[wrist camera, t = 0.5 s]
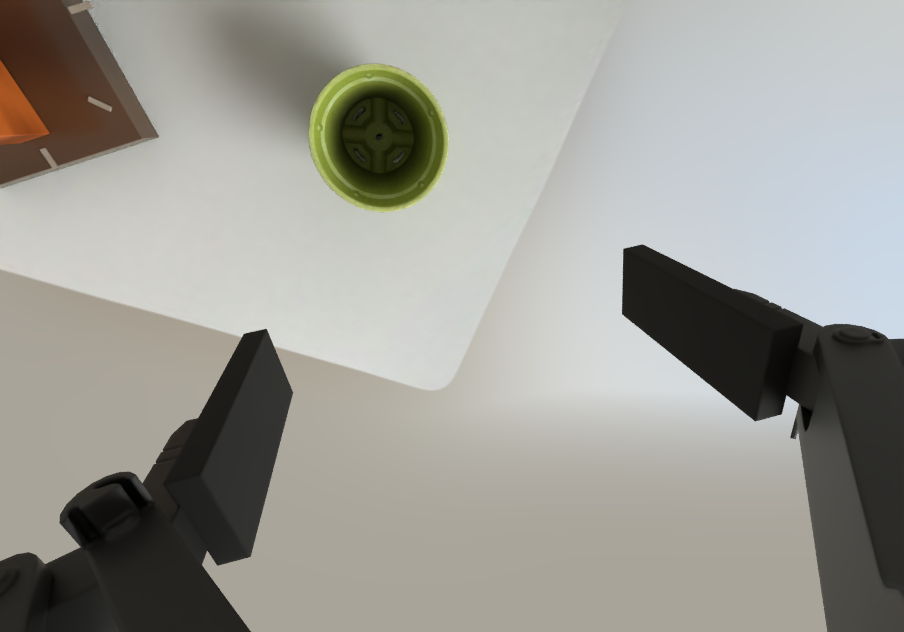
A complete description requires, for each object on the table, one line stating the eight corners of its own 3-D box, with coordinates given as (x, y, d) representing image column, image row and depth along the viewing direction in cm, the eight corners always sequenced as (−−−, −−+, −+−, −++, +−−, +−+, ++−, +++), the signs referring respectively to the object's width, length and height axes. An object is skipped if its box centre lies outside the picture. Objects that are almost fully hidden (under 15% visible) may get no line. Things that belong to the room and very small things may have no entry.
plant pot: (381, 214, 40) (384, 238, 32) (297, 134, 36) (278, 139, 28) (453, 139, 38) (475, 145, 30) (374, 47, 34) (376, 27, 27)
